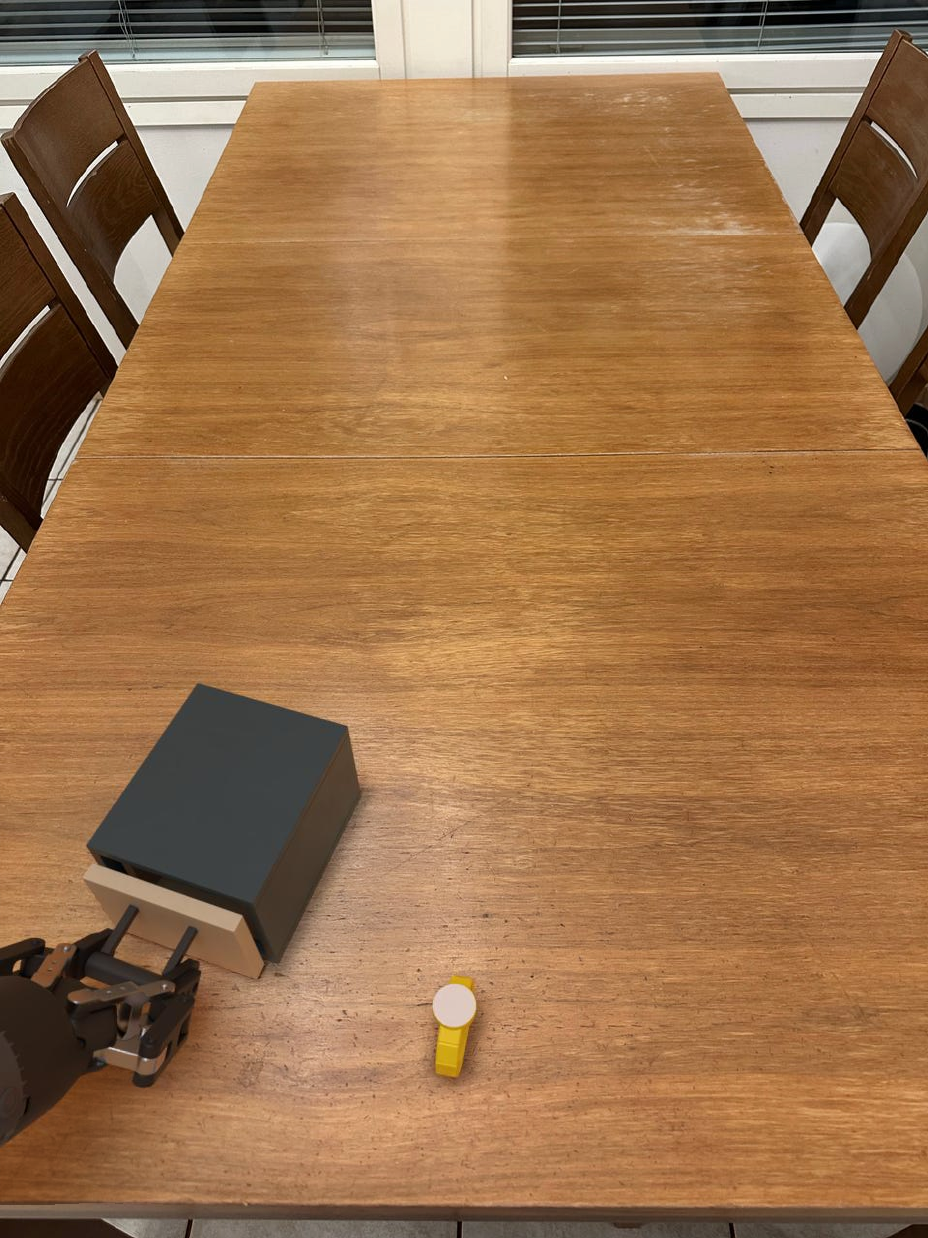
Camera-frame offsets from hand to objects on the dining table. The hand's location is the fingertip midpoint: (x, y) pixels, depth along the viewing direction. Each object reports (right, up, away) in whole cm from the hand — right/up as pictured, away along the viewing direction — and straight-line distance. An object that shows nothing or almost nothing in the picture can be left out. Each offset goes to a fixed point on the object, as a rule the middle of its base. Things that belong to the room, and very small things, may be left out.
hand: (151, 958), depth 62 cm
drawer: (+2, +2, +7) cm, 8 cm away
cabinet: (+4, +4, +11) cm, 12 cm away
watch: (+20, -6, +1) cm, 21 cm away
